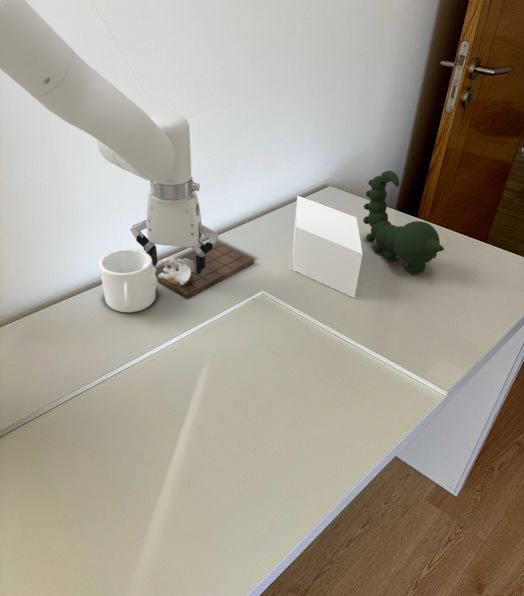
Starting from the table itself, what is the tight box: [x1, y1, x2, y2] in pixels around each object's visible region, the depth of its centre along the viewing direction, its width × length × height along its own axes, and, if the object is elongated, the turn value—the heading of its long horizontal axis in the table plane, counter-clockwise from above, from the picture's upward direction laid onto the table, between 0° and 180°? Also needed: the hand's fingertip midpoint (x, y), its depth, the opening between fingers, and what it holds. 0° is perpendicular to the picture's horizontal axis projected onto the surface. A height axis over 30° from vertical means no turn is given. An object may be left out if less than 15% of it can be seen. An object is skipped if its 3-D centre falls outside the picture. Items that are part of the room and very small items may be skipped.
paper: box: [291, 195, 363, 299], centre depth 115 cm, size 14×29×10 cm, turn 23°
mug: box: [98, 248, 158, 313], centre depth 100 cm, size 12×10×9 cm
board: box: [155, 240, 255, 300], centre depth 114 cm, size 20×12×1 cm, turn 139°
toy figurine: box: [362, 170, 445, 275], centre depth 116 cm, size 9×19×25 cm
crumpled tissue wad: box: [158, 256, 194, 285], centre depth 108 cm, size 8×4×7 cm
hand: (176, 268), depth 108 cm, fingers open, 9 cm apart
